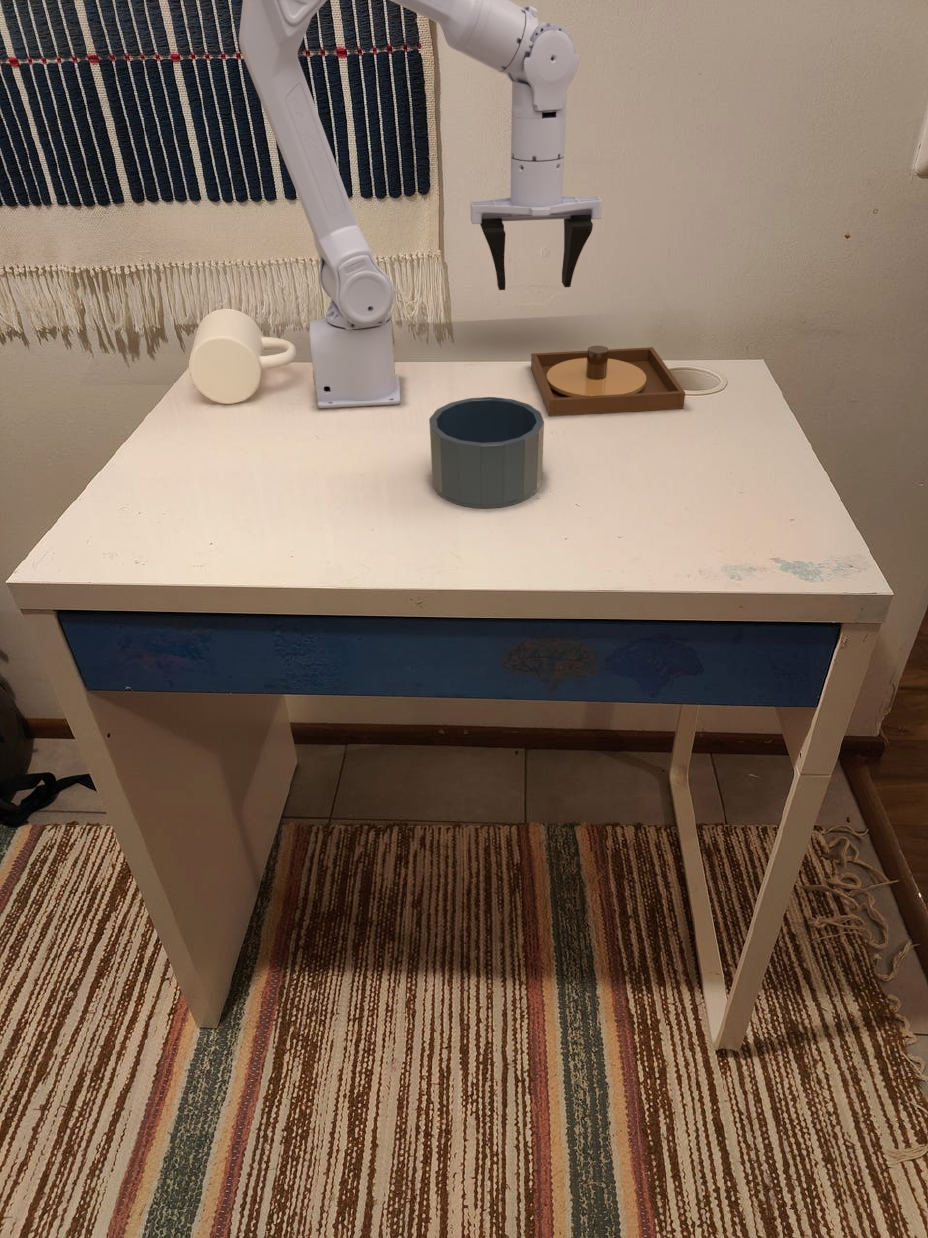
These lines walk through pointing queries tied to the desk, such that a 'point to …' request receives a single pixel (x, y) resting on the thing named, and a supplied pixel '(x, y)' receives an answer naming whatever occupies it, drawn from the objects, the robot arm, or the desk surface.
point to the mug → (233, 356)
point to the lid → (595, 375)
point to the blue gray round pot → (486, 451)
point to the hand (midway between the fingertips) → (533, 286)
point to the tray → (654, 395)
